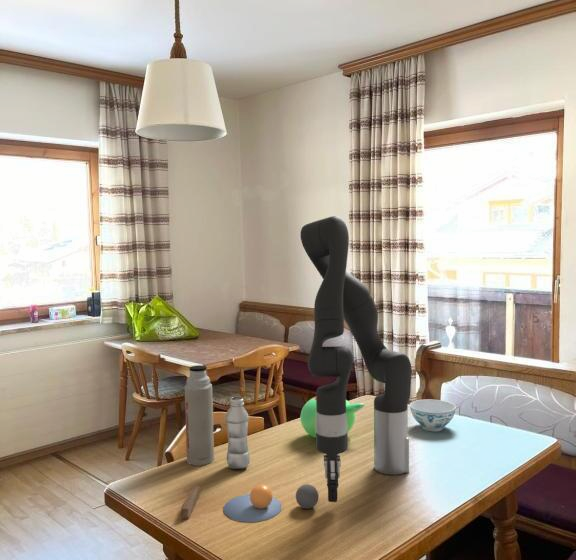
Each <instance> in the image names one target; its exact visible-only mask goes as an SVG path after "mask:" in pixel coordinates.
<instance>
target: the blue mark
mask: <svg viewBox="0 0 576 560" xmlns="http://www.w3.org/2000/svg"><path fill="white" fill-rule="evenodd" d="M281 511H282V503H281V501H280V500H279V499H277V497H274V496H273V498H272V502H271V503H270V505H269V506H268V507H266V508H264V509H259V508H256V507H254V506H253V505H252V503H251V501H250V493H249V494H242V495H239V496H236V497H233V498H232V499H229V500H228V501H227V502H225V504H224V506H223V513H224V515H225V516H226V517H227V518H229V519H232V520H233V521H237V522H242V523H257V522H263V521H267V520H270V519H272V518H274V517H276V516H277V515H279V514H280V512H281Z"/></svg>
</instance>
